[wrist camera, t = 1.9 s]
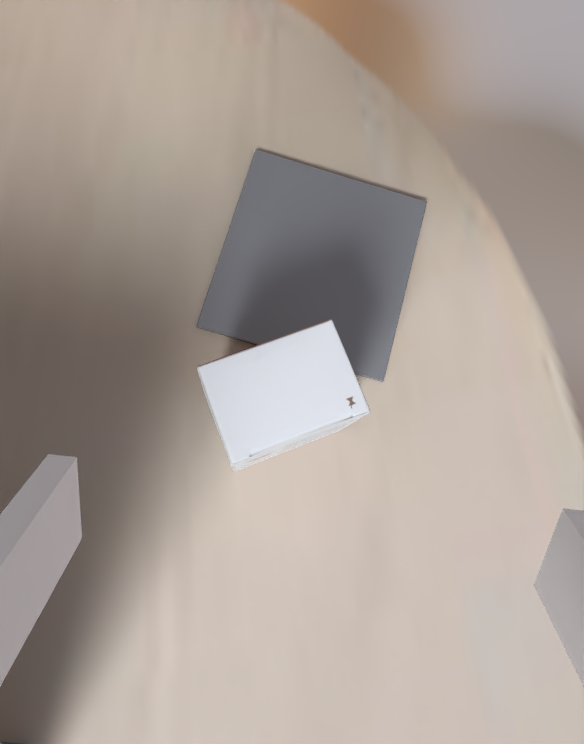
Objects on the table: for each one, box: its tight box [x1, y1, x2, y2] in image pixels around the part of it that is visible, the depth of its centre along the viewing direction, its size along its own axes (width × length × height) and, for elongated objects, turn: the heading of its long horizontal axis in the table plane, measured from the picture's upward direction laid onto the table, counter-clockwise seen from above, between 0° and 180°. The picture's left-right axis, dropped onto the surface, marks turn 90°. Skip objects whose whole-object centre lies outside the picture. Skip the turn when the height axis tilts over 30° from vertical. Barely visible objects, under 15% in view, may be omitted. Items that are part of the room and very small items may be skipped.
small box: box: [197, 319, 370, 471], centre depth 34 cm, size 8×6×10 cm
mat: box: [197, 150, 427, 381], centre depth 41 cm, size 14×15×1 cm
